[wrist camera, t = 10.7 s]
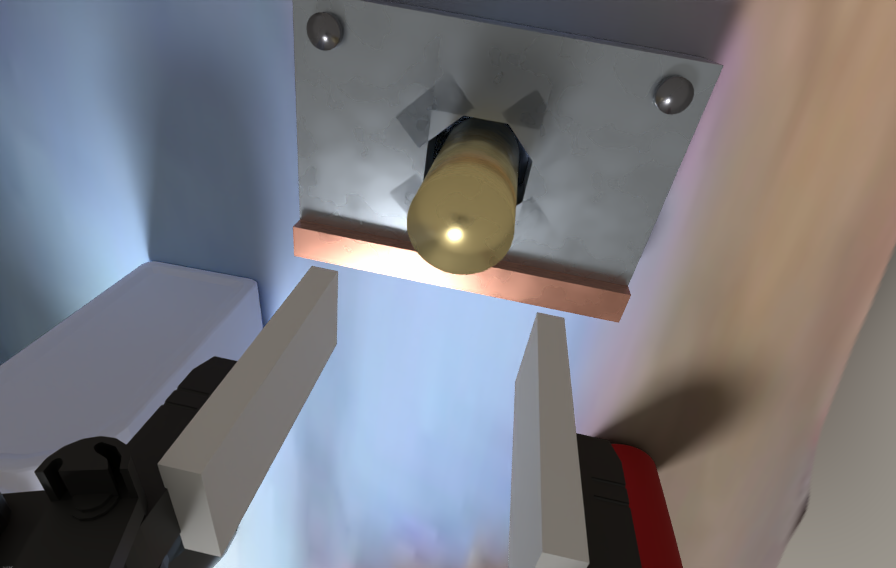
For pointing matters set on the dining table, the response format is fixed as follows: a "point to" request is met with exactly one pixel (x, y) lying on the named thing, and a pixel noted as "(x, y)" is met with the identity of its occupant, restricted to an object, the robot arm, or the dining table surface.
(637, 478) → the beverage can
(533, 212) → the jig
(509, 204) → the brass cylinder
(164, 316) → the soap bottle
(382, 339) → the dining table surface
